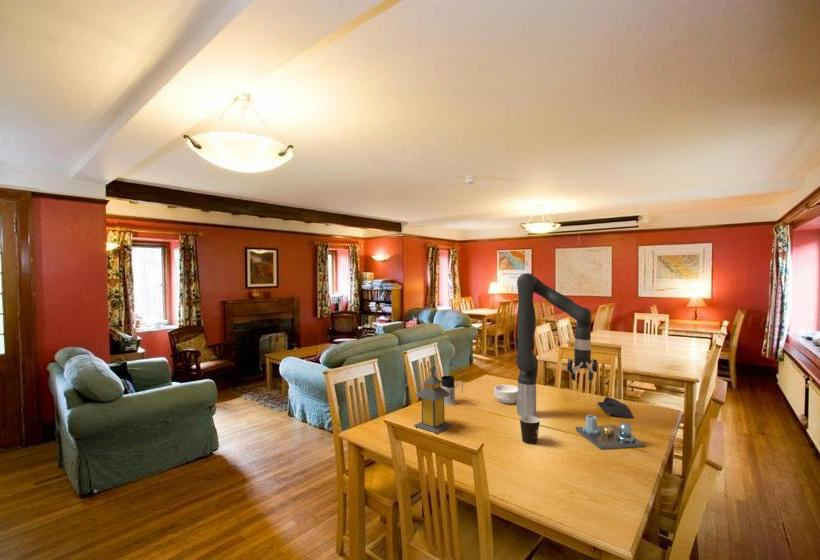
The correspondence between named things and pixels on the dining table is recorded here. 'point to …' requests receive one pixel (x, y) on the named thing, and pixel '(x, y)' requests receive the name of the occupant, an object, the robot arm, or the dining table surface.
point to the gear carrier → (612, 437)
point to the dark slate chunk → (615, 408)
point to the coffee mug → (529, 429)
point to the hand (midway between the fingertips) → (581, 380)
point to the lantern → (433, 405)
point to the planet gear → (591, 425)
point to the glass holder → (449, 389)
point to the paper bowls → (506, 393)
